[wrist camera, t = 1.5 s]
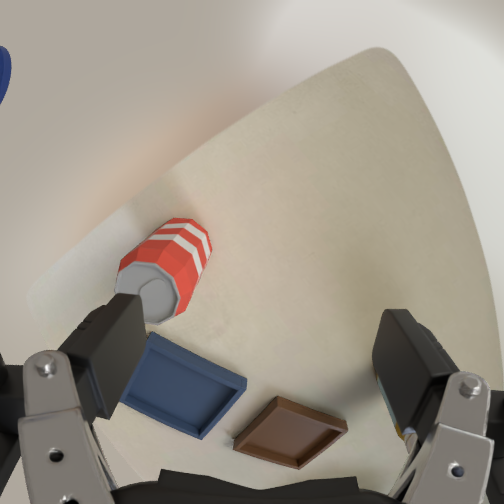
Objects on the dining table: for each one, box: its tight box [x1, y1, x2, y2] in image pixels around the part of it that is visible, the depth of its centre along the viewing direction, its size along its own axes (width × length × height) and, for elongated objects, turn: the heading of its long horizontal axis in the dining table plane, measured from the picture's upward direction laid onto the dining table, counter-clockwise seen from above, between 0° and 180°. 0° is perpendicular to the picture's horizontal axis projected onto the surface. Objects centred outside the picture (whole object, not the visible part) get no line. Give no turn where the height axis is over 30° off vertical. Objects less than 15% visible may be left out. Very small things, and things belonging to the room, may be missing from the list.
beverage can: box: [114, 218, 212, 325], centre depth 28 cm, size 6×6×12 cm
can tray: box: [119, 331, 247, 440], centre depth 39 cm, size 14×14×2 cm
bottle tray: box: [233, 396, 348, 470], centre depth 42 cm, size 12×12×2 cm
